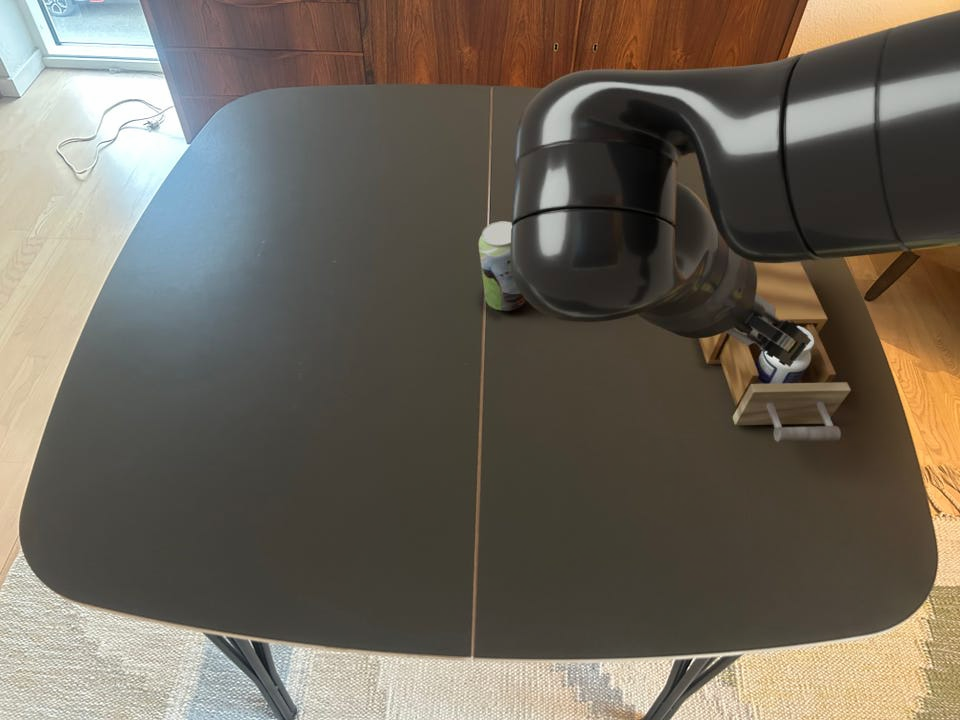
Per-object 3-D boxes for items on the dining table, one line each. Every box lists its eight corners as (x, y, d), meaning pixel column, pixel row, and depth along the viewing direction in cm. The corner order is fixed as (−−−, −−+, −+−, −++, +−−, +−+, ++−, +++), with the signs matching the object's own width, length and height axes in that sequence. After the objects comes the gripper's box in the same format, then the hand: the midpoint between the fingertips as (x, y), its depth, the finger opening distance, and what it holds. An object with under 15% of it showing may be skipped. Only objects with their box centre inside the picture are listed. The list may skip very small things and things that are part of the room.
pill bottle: (793, 375, 89) (822, 328, 83) (789, 406, 86) (819, 360, 79) (751, 362, 90) (776, 315, 84) (745, 393, 87) (771, 346, 80)
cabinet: (800, 362, 93) (827, 318, 87) (706, 364, 93) (727, 320, 86) (764, 278, 103) (787, 233, 96) (679, 279, 102) (696, 234, 96)
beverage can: (520, 322, 96) (528, 256, 87) (469, 308, 97) (471, 241, 88) (533, 290, 100) (542, 224, 90) (484, 277, 101) (487, 211, 92)
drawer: (841, 459, 83) (868, 427, 78) (746, 461, 82) (767, 429, 77) (788, 333, 95) (808, 298, 90) (705, 334, 95) (720, 299, 89)
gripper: (823, 284, 41) (838, 320, 55) (632, 169, 47) (690, 228, 61) (741, 387, 43) (776, 397, 57) (568, 263, 49) (638, 299, 63)
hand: (731, 309), depth 59 cm, fingers open, 8 cm apart
